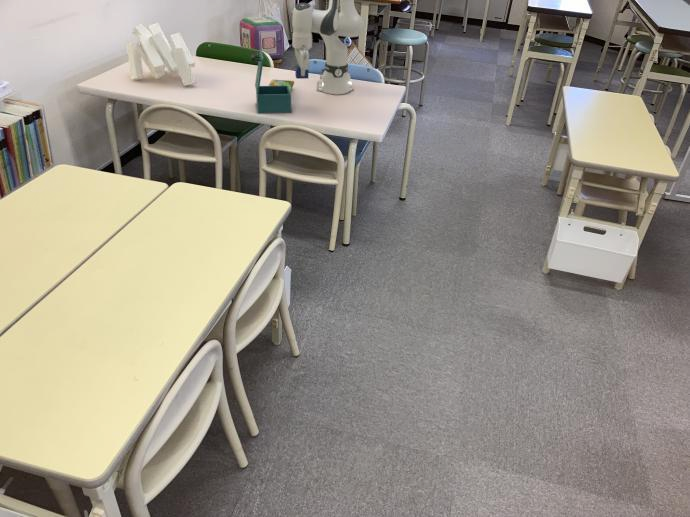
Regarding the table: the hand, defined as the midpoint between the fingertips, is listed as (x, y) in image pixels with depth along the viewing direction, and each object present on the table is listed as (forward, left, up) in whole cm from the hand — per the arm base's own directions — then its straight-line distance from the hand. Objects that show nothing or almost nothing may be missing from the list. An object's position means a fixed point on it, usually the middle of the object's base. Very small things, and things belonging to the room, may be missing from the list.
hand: (301, 73), depth 257 cm
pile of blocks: (-48, -67, -18) cm, 84 cm away
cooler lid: (-4, -19, -1) cm, 20 cm away
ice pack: (0, 0, -2) cm, 2 cm away
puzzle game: (-24, -8, -18) cm, 31 cm away
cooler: (-4, -13, -18) cm, 23 cm away
